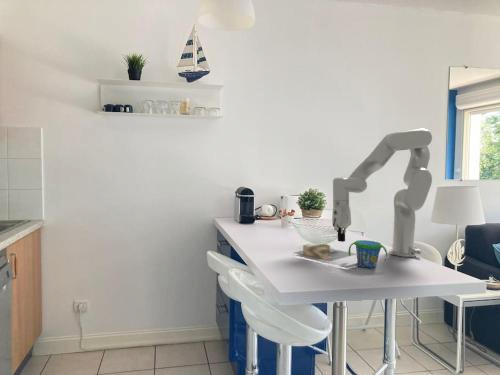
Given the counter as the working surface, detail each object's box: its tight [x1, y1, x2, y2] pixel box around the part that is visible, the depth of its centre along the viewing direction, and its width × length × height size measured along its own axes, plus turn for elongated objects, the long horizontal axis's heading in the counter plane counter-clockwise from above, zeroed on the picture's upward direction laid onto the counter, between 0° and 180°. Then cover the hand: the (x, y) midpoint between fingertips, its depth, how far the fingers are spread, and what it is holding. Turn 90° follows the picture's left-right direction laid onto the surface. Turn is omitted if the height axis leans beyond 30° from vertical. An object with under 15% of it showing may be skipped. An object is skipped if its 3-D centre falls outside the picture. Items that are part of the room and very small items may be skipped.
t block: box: [302, 243, 331, 259], centre depth 184 cm, size 11×10×4 cm
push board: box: [292, 248, 357, 262], centre depth 187 cm, size 20×23×1 cm
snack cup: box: [347, 239, 388, 269], centre depth 169 cm, size 16×10×10 cm
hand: (341, 241), depth 195 cm, fingers closed
